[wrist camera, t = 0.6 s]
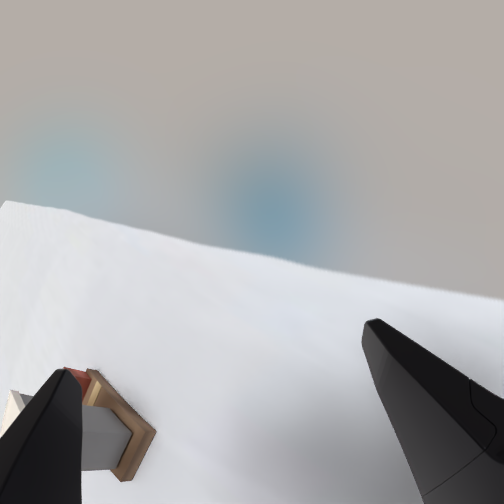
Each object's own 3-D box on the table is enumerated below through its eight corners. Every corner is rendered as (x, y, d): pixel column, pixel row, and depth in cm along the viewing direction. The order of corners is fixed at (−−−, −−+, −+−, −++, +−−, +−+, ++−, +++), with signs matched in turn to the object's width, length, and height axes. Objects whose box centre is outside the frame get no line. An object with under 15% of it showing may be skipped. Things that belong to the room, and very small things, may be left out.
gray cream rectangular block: (133, 433, 23) (26, 425, 14) (115, 470, 22) (15, 470, 13) (108, 406, 25) (10, 389, 16) (93, 443, 24) (0, 434, 15)
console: (156, 431, 24) (119, 431, 20) (131, 480, 22) (96, 484, 19) (97, 370, 30) (65, 363, 26) (78, 416, 28) (47, 412, 25)
